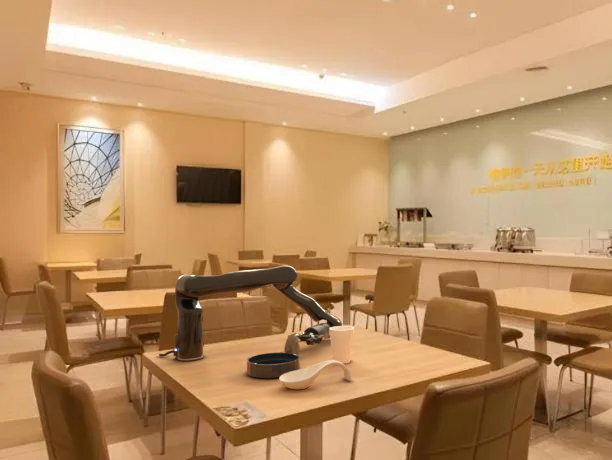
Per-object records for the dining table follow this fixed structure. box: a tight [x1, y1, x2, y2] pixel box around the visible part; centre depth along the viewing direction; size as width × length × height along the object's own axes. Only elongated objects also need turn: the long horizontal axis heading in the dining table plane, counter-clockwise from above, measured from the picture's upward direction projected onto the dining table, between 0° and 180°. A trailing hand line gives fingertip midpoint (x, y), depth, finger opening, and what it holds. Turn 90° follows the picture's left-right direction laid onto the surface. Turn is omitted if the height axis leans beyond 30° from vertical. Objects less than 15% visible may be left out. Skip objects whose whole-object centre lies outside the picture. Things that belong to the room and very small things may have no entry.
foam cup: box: [329, 325, 355, 365], centre depth 205 cm, size 10×9×13 cm
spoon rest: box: [278, 359, 352, 390], centre depth 175 cm, size 24×12×7 cm, turn 120°
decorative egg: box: [283, 333, 301, 356], centre depth 208 cm, size 6×6×10 cm
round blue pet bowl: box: [246, 351, 301, 379], centre depth 190 cm, size 18×18×5 cm
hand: (298, 342), depth 212 cm, fingers open, 8 cm apart
